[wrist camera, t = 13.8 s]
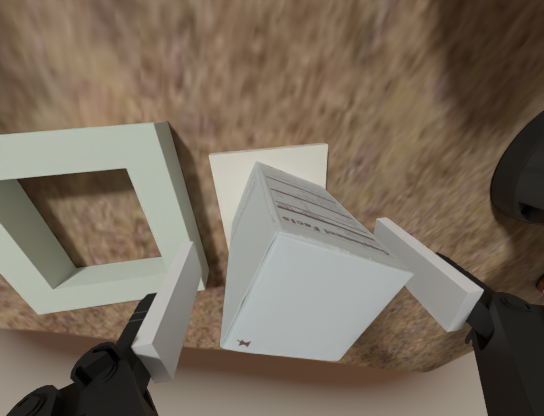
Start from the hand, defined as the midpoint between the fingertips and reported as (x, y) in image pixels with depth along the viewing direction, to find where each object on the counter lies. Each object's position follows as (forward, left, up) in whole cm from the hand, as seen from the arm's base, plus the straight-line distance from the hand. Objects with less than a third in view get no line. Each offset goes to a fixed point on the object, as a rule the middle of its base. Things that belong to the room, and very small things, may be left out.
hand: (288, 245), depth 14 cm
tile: (0, 0, -8) cm, 8 cm away
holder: (+17, 0, -8) cm, 19 cm away
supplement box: (0, 0, -7) cm, 7 cm away
